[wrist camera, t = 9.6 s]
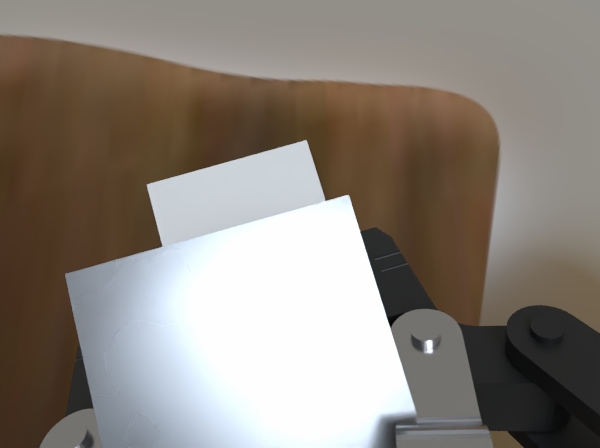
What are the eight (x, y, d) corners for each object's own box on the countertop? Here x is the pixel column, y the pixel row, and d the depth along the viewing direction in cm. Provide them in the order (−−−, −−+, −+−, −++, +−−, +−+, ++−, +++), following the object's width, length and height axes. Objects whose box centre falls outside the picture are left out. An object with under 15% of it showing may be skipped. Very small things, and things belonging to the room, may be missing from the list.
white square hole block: (241, 507, 27) (235, 531, 24) (160, 196, 30) (146, 184, 27) (397, 456, 28) (410, 473, 25) (304, 156, 31) (306, 140, 28)
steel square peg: (219, 433, 16) (132, 589, 7) (184, 293, 16) (65, 274, 8) (356, 390, 16) (440, 488, 7) (316, 255, 17) (348, 195, 8)
